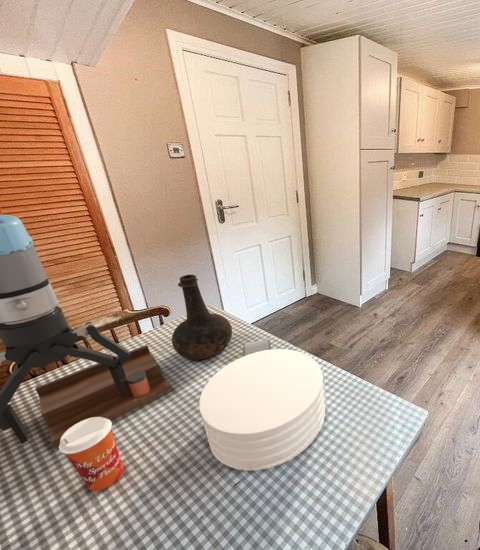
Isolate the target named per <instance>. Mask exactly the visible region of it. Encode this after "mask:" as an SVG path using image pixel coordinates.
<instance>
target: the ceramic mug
mask: <svg viewBox="0 0 480 550" xmlns="http://www.w3.org/2000/svg"><path fill="white" fill-rule="evenodd" d="M265 350H272V347H271V341H270V339H269V338H265V339H262V340H257V341H254V342H253V341H252V342H249V343H246V344H244V345H243V346H242V357H244V356H246V355H249V354H252V353H256V352H260V351H265Z"/></svg>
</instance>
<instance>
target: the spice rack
mask: <svg viewBox="0 0 480 550" xmlns="http://www.w3.org/2000/svg"><path fill="white" fill-rule="evenodd" d="M128 352H129V353H130V355H131V359H130V360H126V361H125V362H124V363H123V364H122V367H123V369H124V372H125V375H126V378H127V377H128V376H129V375H130V374H131V373H133V372H136V371H145V372H146V375H147V379H148V382H149V385H150V388H151V389H150V391H149V392H148V393H147V394H145V395H143V396H140V397H134V396H133V394H132V392H131V389H130V386H129V384H128V382H127V380H126V378H125V379H123V380H120V383H121V385H122V388H123V390H124V393H125V395H126V396H124V397H122V398H121V396H120V394H119V392H118V390H117V388H116V385H115V383H114V381H113V378H112V376H111V373H110V371H109V368H108V366H107V365H104V364H101V363H96V364H93V365H90V366H87V367H85V368H83V369H80V370H77V371H75V372H72V373H70V374H67V375H64V376H62V377H59V378H56V379H54V380H51V381H49V382H45V383H43V384H41V385H37V386H35V387H34V389H35V391H36V394H37V395H38V400H39V405H40V412H41V416H42V418H43V420H44V421H45V423H46V425H47V427H48V431H49V437H50V442H51V444H52V446H53V448H54V449H59V445H60V439H61V437H62V436H63V434H64V433H65V432H66V431H67V430H68V429H69V428H71V427H72V426H74V425H75V424H77V423H79V422H81V421H83V420H85V419H88V418H92V417H102V418H106V419H108V420H110V421H111V422H113V421H114V420H117V419H119V418H121V417H123V416H124V415H127V414H129V413H131V412H132V411H135V410H136V409H139V408H141V407H143V406H145V405H147V404H148V403H150V402H152V401H155V400H157V399H159V398H162V397H163V396H165V395H167V394H169V393H171V392H172V391H173V390H172V387H171V384H170V383H169V381H168V380H167V379H166V378H165V377H164V375H163V372H162V369H161V366H160V365H161V364H160V363H159V362H158V361H157V359H156V358H155V357H154V355H153V354H152V353H151V351H150V348H149V345H148V344H146V345H143V346H141V347H137V348H135V349H132V350H130V351H128Z"/></svg>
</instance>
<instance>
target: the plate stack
mask: <svg viewBox="0 0 480 550" xmlns="http://www.w3.org/2000/svg"><path fill="white" fill-rule="evenodd" d="M323 377H324V376H323V371H322V368H321V367H320V364H318V362H317V361H316V360H315V359H314V358H312V357H311V356H310V355H307V354H306V353H305V352H301V351H298V350H293V349H287V348H286V349H285V348H273V349H272V348H271V350H265V351H260V352H256V353H252V354H249V355H246V356H244V357H243V356H241V357H239V358H237V359H235V360H232V361H231V362H229V363H228V364H227V365H224V366H223V367H222V368H221V369H219V370H218V371H217V372H215V374H214V375H212V377H211V378H210V379H209V380H208V382H207V383H206V384H205V386H204V387H203V390H202V391H201V394H200V397H199V400H198V408H199V413H200V416H201V420H202V423H203V426H204V431H205V434H206V438H207V441H208V444H209V449H210V451H211V453H212V454H213V456H214V458H216V459H217V460H218V461H219V462H220V463H222V465H225V466H226V467H229V468H232V469H235V470H240V471H248V472H249V471H261V470H267V469H270V468H274V467H278V466H280V465H282V464H284V463H286V462H288V461H290V460H292V459H294V458H295V457H296V456H298V455H300V454H301V453H302V452H304V450H306V449H307V448H308V447H309V446H310V445H311V444H312V443H313V442H314V440H315V439H316V438H317V436H318V435H319V433H320V431H321V429H322V427H323V425H324V421H325V418H326V417H325V416H326V404H325V392H324V378H323Z"/></svg>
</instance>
